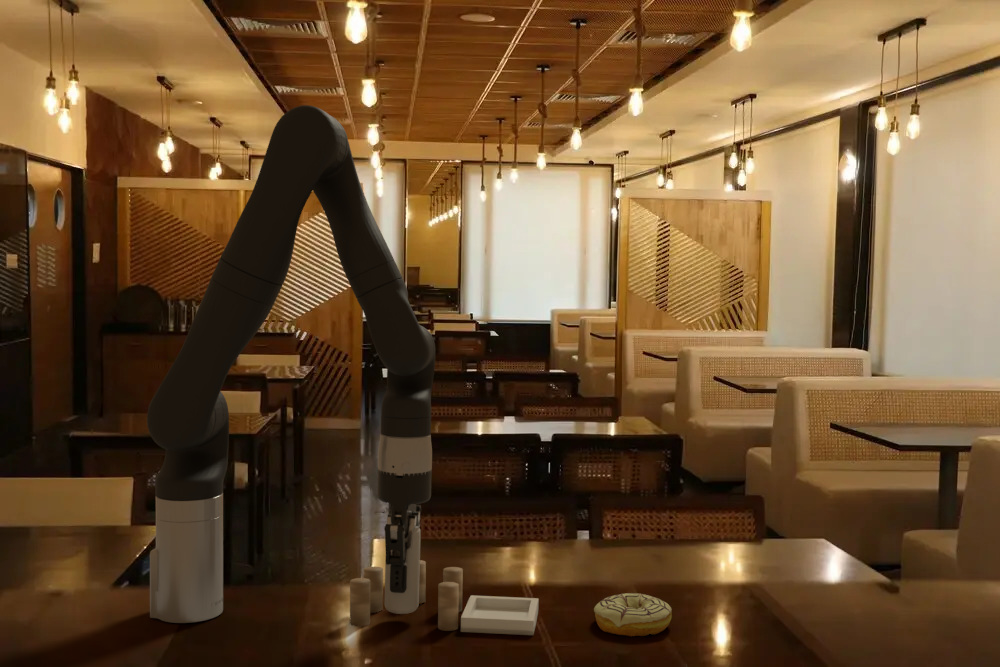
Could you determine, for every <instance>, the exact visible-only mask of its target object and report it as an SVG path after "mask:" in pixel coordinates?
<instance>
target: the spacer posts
mask: <svg viewBox="0 0 1000 667" xmlns="http://www.w3.org/2000/svg"><path fill="white" fill-rule="evenodd" d="M426 565H427V562H426V561H425V560H422V559H420V575H419V603H423V602H425V603H426V589H427V588H426V584H427V583H426V576H427V575H426V574H427V573H426V572H427V571H426V568H427V567H426ZM442 571H443V572H442V576H443V577H442V578H443V582H440V583H438V590H437V591H438V593H437V594H438V595H437V596H438V597H437V599H438V600H437V601H438V602H437V613H438V614H437V629H438V630H440V631H445V632H449V631H450V632H452V631H455V630H458V629H459V613H460V612H463V586H464V585H463V580H464V579H463V578H464V577H463V573H464V572H463V571H464V569H463V568H462V567H458V566H449V567H448V566H447V567H445V568H443V570H442ZM383 606H384V568H383V567H381V566H367V567H364V568H363V577H356V578H352V579H350V581H349V625H350V626H353V627H366V626H369V625H370V624H371V614H373V613H374V614H376V612H377V613H380V612H379V611H381V610H382V611H383V610H384V609H383V608H384V607H383ZM382 611H381V612H382Z"/></svg>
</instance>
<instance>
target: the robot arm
mask: <svg viewBox="0 0 1000 667" xmlns="http://www.w3.org/2000/svg"><path fill="white" fill-rule="evenodd" d="M268 142H269V143H268V144H267V148H266V151H265V154H264V157H263V160H262V163H261V166H260V170H259V172H258V175H257V178H256V182H255V184H254V187H253V190H252V191H251V194H250V196H249V199H248V200H247V202H246V204H245V206H244V208H243V210H242V212H241V214H240V216H239V218H238V221H237V222H236V224H235V226H234V229H233V231H232V232H231V234H230V237H229V239H228V241H227V243H226V246H225V247H224V250H223V252H222V254H220V255H221V256H220V258H219V260H218V262H217V264H216V267H214V268H215V269H214V270H213V273H212V275H211V277H210V280H209V282H208V285H207V288H206V289H205V292H204V295H203V297H202V299H201V302H200V303H199V306H198V308H197V310H196V313H195V316H194V317H193V320H192V321H191V325H190V327H189V330H188V333H187V335H186V337H185V340H184V342H183V345H182V346H181V349H180V350H179V352H178V354H177V356H176V358H175V359H174V361H173V363H172V364H171V366H170V368H169V370H168V371H167V373H166V375H165V377H164V378H163V379H162V381H161V383H160V385H159V387H158V389H157V390H156V391H155V394H154V395H153V397H152V398H151V401H150V403H149V405H148V409H147V415H146V427H147V429H148V433H149V436H150V437H151V439H152V440H153V442H154V443H156V445H158V446H159V447H160V448H162V449H165V455H164V456H165V457H164V461H163V464H162V465H161V468H160V470H159V472H158V473H157V476H156V478H155V483H154V484H155V487H154V488H155V490H154V491H155V548H153V549H152V550H150V552H149V618H151V619H158V620H160V621H162V622H166V623H174V624H187V623H188V624H189V623H199V622H203V621H208V620H211V619H214V618H216V617H218V616H219V615H221V614H222V613H223V611H224V481H225V476H226V474H227V471H228V463H229V461H228V460H229V441H230V440H229V437H230V416H229V415H230V414H229V413H230V412H229V407H228V403H227V400H226V397H225V395H224V394H223V392H222V387H223V385H224V383H225V380H226V378H227V376H228V373H229V372H230V371H231V368H232V367H233V365H234V363H235V362H236V360H237V359H238V357H239V356H240V354H241V353H242V352H243V350H245V348H246V347H247V345H249V343H250V341H252V339H253V338H254V337H255V335H256V334H257V333H258V332H259V330H260V329H261V327H262V325H263V324H264V323H265V321H266V320H267V318H268V316H269V314H270V313H271V311H272V309H273V307H274V305H275V303H276V301H277V298H278V296H279V294H280V292H281V290H282V287H283V284H284V283H285V281H286V278H287V275H288V273H289V269H290V267H291V262H292V258H293V253H294V247H295V242H296V237H297V236H296V235H297V232H298V226H299V222H300V218H301V216H302V213H303V211H304V209H305V208H304V207H306V203H307V201H308V199H309V198H310V195H311V194H312V192H313V194H315V196H316V198H317V200H318V202H319V203H320V206H321V208H322V209H323V212H324V214H325V216H326V220H327V222H328V224H329V227H330V230H331V234H332V237H333V240H334V246H335V249H336V252H337V255H338V258H339V262H340V264H341V268H342V269H343V273H344V274H345V277H346V278H347V281H348V283H349V286H350V287H351V290H352V291H353V294H354V297H355V299H356V301H357V303H358V304H359V306H360V308H361V310H362V312H363V314H364V318H365V320H366V321H365V322H366V325H367V327H368V331H369V334H370V337H371V340H372V344H373V345H374V349H375V351H376V353H377V355H378V357H379V359H380V362H382V364H383V366H384V367H385V368H386V371H387V372H386V390H385V393H384V395H383V398H382V402H381V411H380V436H379V437H380V438H379V444H378V449H377V450H378V454H377V455H378V456H377V492H376V494H377V495H376V496H377V499H378V500H379V501H380V502H383V503H385V504H386V503H388V504H390V505H391V511H390V512H391V513H390V514H387V518H386V523H385V526H384V528H383V529H384V538H385V539H384V542H385V543H384V544H385V561H386V564H387V565H391V566H390V591H391V592H393V593H404V592H405V591H406V588H407V564H408V551H409V550H410V549H411V548H412V546H413V532H414V528H416V525H418V524H419V525H420V526H421V512H422V506H421V504H424V503H427V502H428V501H430V499H431V497H432V476H433V475H432V472H433V471H432V470H433V467H432V466H433V448H432V447H433V445H432V437H431V436H432V435H431V434H432V403H431V402H432V390H433V383H434V377H435V376H434V375H435V367H436V344H435V340H434V338H433V335H432V334H431V332H430V331H429V330H427V328H425V327H424V326H422V325H420V323H419V322H418V319H417V317H416V314H415V313H414V310H413V308H412V306H411V304H410V302H409V291H408V288H407V285H406V283H405V280H404V278H403V276H402V274H401V271H400V269H399V267H398V265H397V263H396V261H395V259H394V256H393V255H392V252H391V250H390V249H389V246H388V244H387V242H386V240H385V237H384V235H383V234H382V231H381V230H380V228H379V225H378V223H377V221H376V219H375V217H374V215H373V212H372V211H371V209H370V206H369V204H368V201H367V198H366V196H365V192H364V190H363V188H362V185H361V181H360V179H359V175H358V172H357V168H356V165H355V161H354V158H353V154H352V150H351V147H350V146H351V145H350V142H349V138H348V134H347V132H346V130H345V128H344V127H343V125H342V124H341V123H340V122H339V120H338V119H337V118H335V117H334V116H332V115H330V114H329V113H328V112H326V111H324V109H321V108H319V107H317V106H314V105H298V106H295V107H293V108H291V109H290V110H287V111H286V112H285V113H284V114H283V115H282V116H280V118H279V119H278V121H277V122H276V124H275V125H274V128H273V130H272V133H271V136H270V139H269V141H268ZM407 536H408V541H407V542H406V543H405V538H407ZM394 550H398V551H400V556H394Z"/></svg>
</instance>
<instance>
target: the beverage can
mask: <svg viewBox="0 0 1000 667" xmlns="http://www.w3.org/2000/svg"><path fill="white" fill-rule="evenodd" d="M420 526H421V524H420V525H419V524H418V525H416V528H414V532H413V546H412V548H411V549H410V550H409V551H408V564H407V588H406V591H405V592H404V593H393V592H391V591H390V566H391V565H387V564H386V561H385V562H384V563H385V568H384V603H383V606H384V607H385V609H386V610H387V611H388V612H390V613H393V614H396V615H397V614H398V615H399V614H400V615H405V614H406V615H407V614H410V613H413V612H415V611H416V610H417V609H418V608H419V606H420V605H419V575H420V560H421V528H420ZM407 541H408V536H407V538H405V543H406V542H407ZM394 556H400V551H398V550H394Z"/></svg>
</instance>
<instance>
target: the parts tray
mask: <svg viewBox="0 0 1000 667" xmlns="http://www.w3.org/2000/svg"><path fill="white" fill-rule="evenodd" d="M539 600H540V599H539V598H538V597H537V598H535V597H514V596H492V595H473V594H472V595H470V597H469V598H468V600H467V603H466V606H465V607H464V610H463V611H462V614H461V617H460V633H475V634H476V633H478V634H481V633H482V634H496V635H497V634H499V635H501V634H502V635H516V636H517V635H520V636H534V634H535V629H536V626H537V620H538V614H539V603H540V602H539Z"/></svg>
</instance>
